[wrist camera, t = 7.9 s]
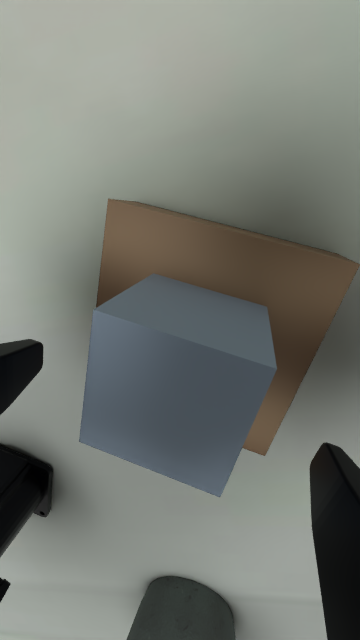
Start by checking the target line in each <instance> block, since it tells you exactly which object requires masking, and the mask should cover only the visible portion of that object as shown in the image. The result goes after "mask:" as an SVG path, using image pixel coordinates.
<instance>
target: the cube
mask: <svg viewBox="0 0 360 640" xmlns="http://www.w3.org/2000/svg"><path fill="white" fill-rule="evenodd" d="M276 370H277V366H276V359H275V353H274V347H273V340H272V334H271V328H270V321H269V315H268V309H267V307H266V306H263V305H259V304H256V303H253V302H249V301H246V300H242V299H239V298H236V297H232V296H229V295H225V294H222V293H219V292H215V291H212V290H208V289H205V288H202V287H198V286H195V285H191V284H188V283H184V282H181V281H178V280H174V279H171V278H167V277H164V276H161V275H157V274H154V273H153V274H152V275H150V276H148V277H147V278H145V279H143V280H142V281H140V282H138V283H137V284H135V285H133V286H132V287H130V288H128V289H127V290H125V291H123V292H122V293H120V294H118V295H117V296H115V297H113V298H112V299H110V300H108V301H107V302H105V303H103V304H102V305H100V306H99V307H97V308H95V309H94V310H93V317H92V327H91V336H90V345H89V355H88V364H87V373H86V383H85V392H84V401H83V411H82V420H81V429H80V439H79V442H81V443H84V444H86V445H89V446H91V447H94V448H97V449H99V450H102V451H104V452H107V453H109V454H112V455H114V456H117V457H119V458H122V459H124V460H127V461H129V462H132V463H134V464H137V465H139V466H142V467H145V468H147V469H150V470H152V471H155V472H157V473H160V474H162V475H165V476H167V477H170V478H172V479H175V480H177V481H180V482H182V483H185V484H187V485H190V486H192V487H195V488H198V489H200V490H203V491H205V492H208V493H210V494H213V495H215V496H218V497H220V496H221V494H222V492H223V490H224V487H225V485H226V483H227V481H228V478H229V476H230V474H231V472H232V469H233V467H234V465H235V463H236V460H237V458H238V456H239V454H240V451H241V449H242V447H243V445H244V442H245V440H246V438H247V436H248V433H249V431H250V429H251V427H252V424H253V422H254V420H255V417H256V415H257V413H258V411H259V408H260V406H261V404H262V402H263V399H264V397H265V395H266V393H267V390H268V388H269V386H270V384H271V381H272V379H273V377H274V375H275V372H276Z"/></svg>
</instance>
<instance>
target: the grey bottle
mask: <svg viewBox="0 0 360 640" xmlns="http://www.w3.org/2000/svg"><path fill="white" fill-rule="evenodd" d="M127 640H235V631H234V625H233V618H232V613H231V611H230V609H229V607H228V605H227V603H226V602H225V601H224V600H223V599H222V598H221V597H220V596H219V595H218V594H216V593H215V592H213V591H212V590H210V589H209V588H207V587H205V586H203V585H201V584H199V583H197V582H194V581H191V580H188V579H184V578H180V577H163V578H158V579H156V580H155V581H154V582H152V583H151V584H150V586H149V588H148V590H147V592H146V593H145V595H144V597H143V599H142V601H141V604H140V606H139V609H138V611H137V614H136V617H135V619H134V622H133V624H132V627H131V630H130V632H129V635H128V637H127Z"/></svg>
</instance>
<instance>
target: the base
mask: <svg viewBox="0 0 360 640" xmlns="http://www.w3.org/2000/svg"><path fill="white" fill-rule="evenodd" d="M359 266H360V264H358V263H356V262H353V261H351V260H349V259H347V258H345V257H343V256H341V255H339V254H336V253H332V252H329V251H325V250H321V249H317V248H313V247H309V246H305V245H301V244H298V243H294V242H290V241H286V240H282V239H278V238H274V237H271V236H267V235H263V234H259V233H255V232H251V231H247V230H244V229H240V228H236V227H232V226H228V225H224V224H220V223H216V222H213V221H209V220H205V219H201V218H197V217H193V216H189V215H186V214H182V213H178V212H174V211H170V210H166V209H162V208H158V207H155V206H151V205H147V204H143V203H139V202H134V201H124V200H114V199H108V205H107V214H106V223H105V232H104V241H103V250H102V259H101V268H100V277H99V286H98V295H97V304H96V308H97V307H99V306H100V305H102V304H103V303H105V302H107V301H108V300H110V299H112V298H113V297H115V296H117V295H118V294H120V293H122V292H123V291H125V290H127V289H128V288H130V287H132V286H133V285H135V284H137V283H138V282H140V281H142V280H143V279H145V278H147V277H148V276H150V275H152V274H153V273H154V274H157V275H161V276H164V277H167V278H171V279H174V280H178V281H181V282H184V283H188V284H191V285H195V286H198V287H202V288H205V289H208V290H212V291H215V292H219V293H222V294H225V295H229V296H232V297H236V298H239V299H242V300H246V301H249V302H253V303H256V304H259V305H263V306H266V307H267V309H268V315H269V321H270V328H271V334H272V340H273V347H274V353H275V359H276V366H277V370H276V372H275V375H274V377H273V379H272V381H271V384H270V386H269V388H268V390H267V393H266V395H265V397H264V399H263V402H262V404H261V406H260V408H259V411H258V413H257V415H256V417H255V420H254V422H253V424H252V427H251V429H250V431H249V433H248V436H247V438H246V440H245V442H244V445H243V447H242V448H244V449H247V450H250V451H252V452H255V453H258V454H261V455H263V456H265V455H266V453H267V451H268V449H269V446H270V444H271V442H272V440H273V438H274V436H275V434H276V432H277V430H278V428H279V426H280V424H281V422H282V420H283V418H284V416H285V414H286V412H287V410H288V408H289V406H290V404H291V402H292V400H293V398H294V396H295V394H296V392H297V390H298V388H299V386H300V384H301V382H302V380H303V378H304V376H305V374H306V372H307V370H308V368H309V366H310V364H311V362H312V360H313V358H314V356H315V354H316V352H317V350H318V348H319V346H320V344H321V342H322V340H323V338H324V336H325V334H326V332H327V330H328V328H329V326H330V324H331V322H332V320H333V318H334V316H335V314H336V312H337V310H338V308H339V306H340V304H341V302H342V300H343V298H344V296H345V294H346V292H347V290H348V288H349V286H350V284H351V282H352V280H353V278H354V276H355V274H356V272H357V270H358V268H359Z"/></svg>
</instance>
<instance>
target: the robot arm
mask: <svg viewBox="0 0 360 640" xmlns="http://www.w3.org/2000/svg"><path fill="white" fill-rule="evenodd" d="M42 365H43V344H42V343H41V342H38V341H35V340H32V339H26V340H20V341H14V342H8V343H2V344H0V415H1V414H2V413H3V412H4V411H5V410H6V409H7V408H8V407H9V406H10V405H11V404H12V403H13V401H14V400H15V399H16V398H17V397H18V396H19V395H20V393H21V392H22V391H23V390H24V389H25V388H26V386H27V385H28V384H29V383H30V382H31V381H32V380H33V378H34V377H35V376H36V375H37V374H38V373H39V371H40V370H41V368H42ZM51 482H52V469H51V468H50V467H49V466H48V465H46V464H43V463H41V462H39V461H36V460H34V459H31V458H29V457H27V456H24V455H22V454H19V453H17V452H15V451H12V450H10V449H7V448H5V447H3V446H0V557H1V556H2V555H3V553H4V552H5V550H6V549H7V548H8V546H9V545H10V544H11V542H12V541H13V540H14V538H15V537H16V535H17V534H18V533H19V531H20V530H21V529H22V527H23V526H24V525H25V523H26V522H27V520H28V519H29V518H30V516H31V515H32V514H33V513H35V514H37V515H39V516H42V517H47V515H48V514H49V512H50V500H51ZM310 492H311V519H312V531H313V539H314V546H315V553H316V560H317V568H318V575H319V582H320V589H321V596H322V603H323V610H324V618H325V625H326V632H327V639H328V640H360V468H359V467H358V466H357V465H356V464H355V463H354V462H353V461H352V460H351V459H350V457H349V456H348V455H347V454H346V453H345V452H344V451H343V450H342V449H341V448H340V447H338V446H336V445H333V444H330V443H323V444H322V445H321V446H320V448H319V450H318V451H317V453H316V455H315V456H314V458H313V460H312V462H311V464H310ZM9 586H10V583H9V582H8V581H7V580H6V579H1V578H0V602H1V600H2V599H3V597H4V595H5V593H6V591H7V590H8V588H9Z"/></svg>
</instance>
